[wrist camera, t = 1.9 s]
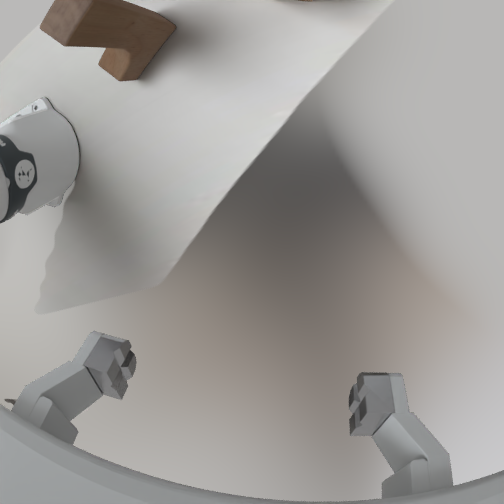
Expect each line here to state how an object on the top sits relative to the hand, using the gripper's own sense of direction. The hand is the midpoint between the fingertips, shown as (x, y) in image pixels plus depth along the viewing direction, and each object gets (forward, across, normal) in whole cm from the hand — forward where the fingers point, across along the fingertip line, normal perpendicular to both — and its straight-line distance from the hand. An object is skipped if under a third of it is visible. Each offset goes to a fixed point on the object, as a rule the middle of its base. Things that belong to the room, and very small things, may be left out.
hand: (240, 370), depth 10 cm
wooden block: (+32, -18, +13) cm, 39 cm away
